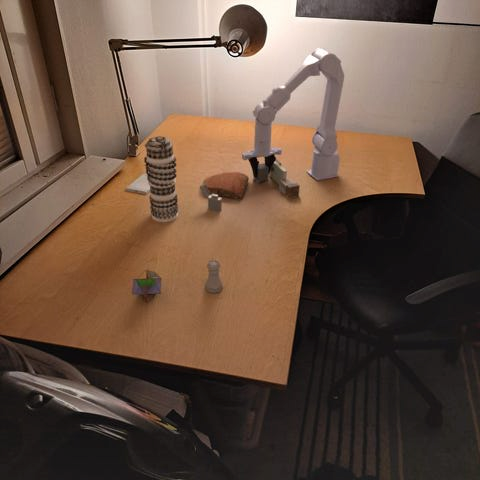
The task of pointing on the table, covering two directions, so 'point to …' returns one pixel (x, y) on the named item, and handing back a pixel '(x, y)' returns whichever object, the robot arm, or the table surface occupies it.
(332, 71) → the robot arm
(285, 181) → the door frame
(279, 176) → the cream bar
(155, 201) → the decorative candle
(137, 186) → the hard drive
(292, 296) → the table surface
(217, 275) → the rook chess piece
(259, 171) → the grey block
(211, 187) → the ceramic shard
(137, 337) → the table surface
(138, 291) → the geometric puzzle
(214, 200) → the lighter
